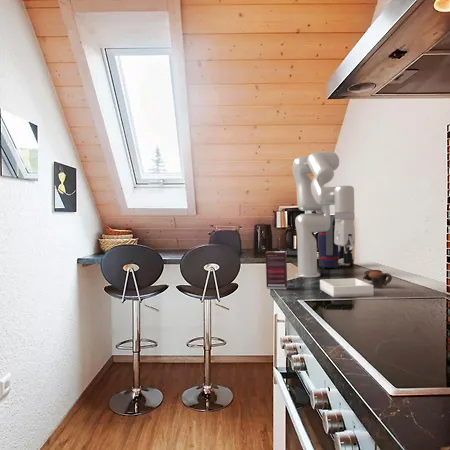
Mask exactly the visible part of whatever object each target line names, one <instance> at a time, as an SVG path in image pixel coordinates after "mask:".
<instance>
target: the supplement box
mask: <svg viewBox="0 0 450 450" xmlns="http://www.w3.org/2000/svg"><path fill="white" fill-rule="evenodd" d="M287 261H288V259H287V251H285V250H283V251H281V250H279V251H275V250H273V251H271V250H270V251H268V250H266V252H265V273H266V274H265V277H266V284H265V285H266V289H267V290H287V288H288V265H287V264H288V263H287Z"/></svg>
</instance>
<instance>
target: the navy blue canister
mask: <svg viewBox="0 0 450 450" xmlns="http://www.w3.org/2000/svg"><path fill="white" fill-rule="evenodd" d="M334 231H335V215H330V228H329V230H328V231H325V232H318V266H319V267H321V269H323V270H325V269H326V268H334V269H335V270H337V269H338V268H340V267H341V265H339V263H338V261H339V252H338V245H336V244H335V243H334Z"/></svg>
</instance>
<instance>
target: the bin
mask: <svg viewBox="0 0 450 450" xmlns="http://www.w3.org/2000/svg"><path fill="white" fill-rule="evenodd" d="M369 283H370V282H366V281H363V280H360V279H359V278H355V277H354V278H353V277H352V278H330V279H327V278H326V279H319V290H321V291H322V292H324V293H326V294H328V295H329V296H331V297H332V298H351V297H353V298H354V297H374V290H375V289H374V287H373V285H371V284H369Z"/></svg>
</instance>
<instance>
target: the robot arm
mask: <svg viewBox="0 0 450 450" xmlns="http://www.w3.org/2000/svg"><path fill="white" fill-rule="evenodd" d="M339 166H340V158H339V155H338V154H337V153H336V152H334V151H328V152H327V151H316V152H315V151H314V152H312V153H310V154H309V155H308V156H299V157H296V158H295V159H294V160H293V162H292V169H291V170H292V174H293V175H292V176H293V178H294V181H295V185H296V186H295V187H296V205H297V208H298V210H299V211H302V212H311V213H300V214H299V215H297V216H296V217H295V220H294V222H295V223H294V224H295V229H296V239H297V240H296V241H297V245H296V246H297V272H294V275H295V277H298V278H318V277H320V276H321V273H320V272H318V257H317V256H318V253H317V252H318V251H317V250H318V248H317V247H318V246H317V244H318V243H317V238H316V237H315V236H314V235H313V233H319V232H325V231H328V230H329V228H330V216H331V208H330V206H334V216H335V231H334V243H335V244H336V245H338V252H339V259H342V258H344V264H350V265H351V264H353V249H354V247H355V241H356V236H355V235H356V234H355V223H354V222H355V221H356V220H355V188H354V187H353V186H352V185H339V186H337V185H336V186H324V185H326V184H328V183H329V182H331V181H332V180H333V179H334V176H335V171H336V170H337V169H338V168H339ZM309 174H311V175H313V178H311V177H310V176H309ZM312 212H315V213H312ZM316 212H318V213H316ZM344 252H345V253H344Z"/></svg>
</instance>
